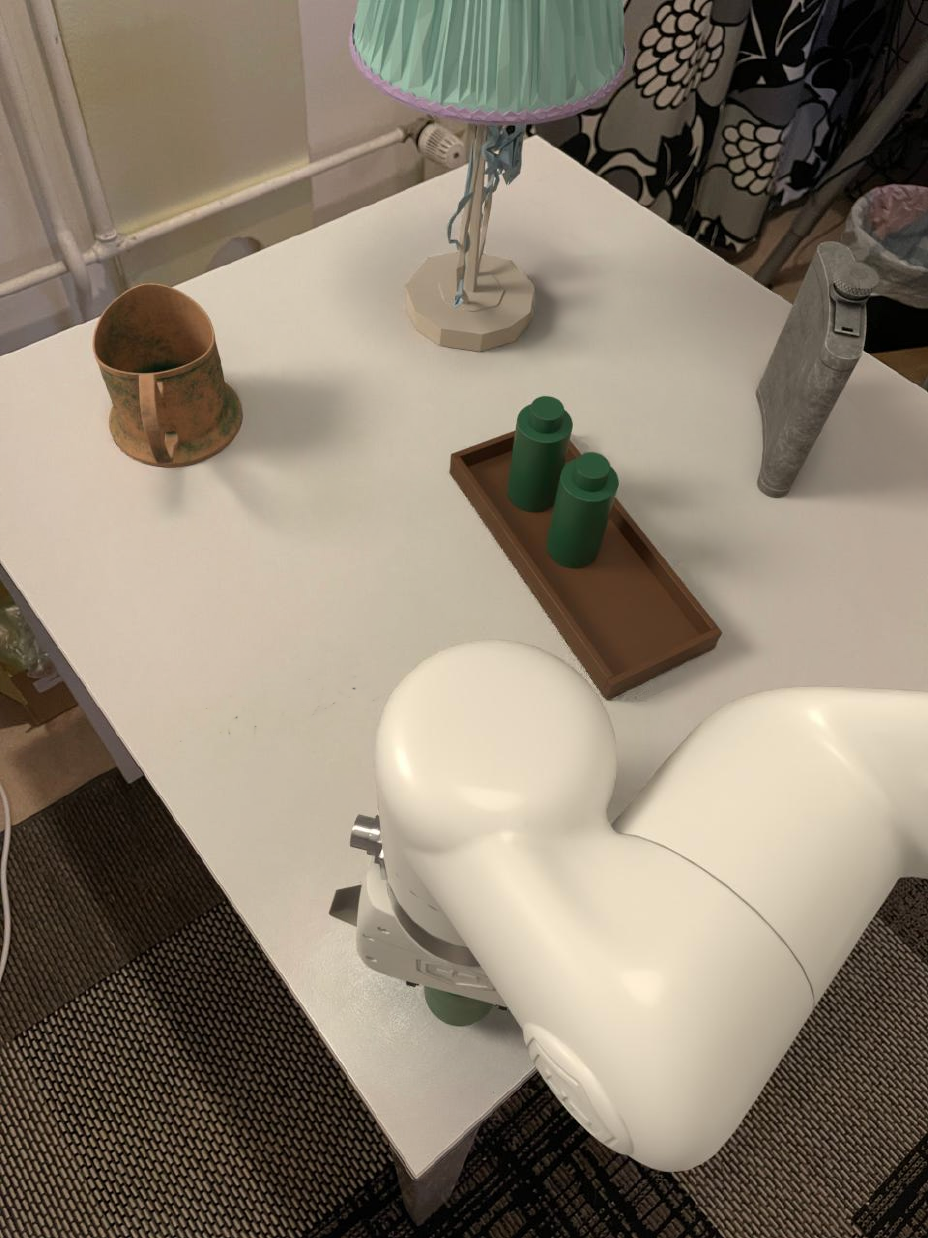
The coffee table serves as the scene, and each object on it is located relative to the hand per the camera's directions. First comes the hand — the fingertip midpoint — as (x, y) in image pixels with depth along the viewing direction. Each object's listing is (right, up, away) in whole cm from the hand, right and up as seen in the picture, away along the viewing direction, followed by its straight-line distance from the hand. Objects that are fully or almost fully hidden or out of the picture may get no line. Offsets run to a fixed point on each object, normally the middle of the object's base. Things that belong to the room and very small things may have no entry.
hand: (462, 970), depth 52 cm
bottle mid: (+9, +26, +24) cm, 36 cm away
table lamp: (+1, +51, +41) cm, 65 cm away
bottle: (0, -3, +4) cm, 5 cm away
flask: (+29, +36, +33) cm, 57 cm away
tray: (+9, +25, +24) cm, 36 cm away
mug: (-25, +35, +29) cm, 52 cm away
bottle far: (+6, +31, +27) cm, 41 cm away
